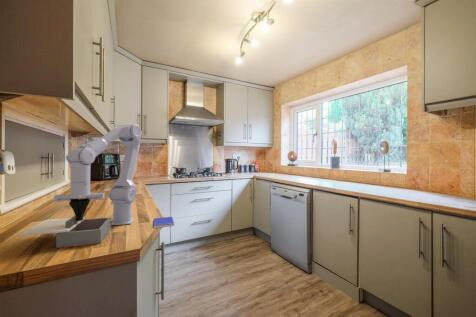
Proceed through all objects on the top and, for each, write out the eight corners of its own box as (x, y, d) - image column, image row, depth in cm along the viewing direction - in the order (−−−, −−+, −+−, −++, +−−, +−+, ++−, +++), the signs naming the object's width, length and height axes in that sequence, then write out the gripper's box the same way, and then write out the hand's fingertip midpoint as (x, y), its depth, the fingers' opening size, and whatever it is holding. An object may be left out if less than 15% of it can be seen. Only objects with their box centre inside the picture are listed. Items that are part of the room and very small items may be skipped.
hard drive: (174, 223, 90) (172, 216, 102) (153, 225, 87) (153, 218, 99) (174, 227, 90) (172, 219, 102) (153, 229, 87) (153, 221, 99)
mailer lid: (45, 221, 79) (45, 214, 79) (85, 218, 83) (85, 211, 83) (18, 236, 63) (18, 227, 63) (68, 231, 68) (68, 223, 68)
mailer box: (75, 231, 82) (75, 220, 82) (110, 228, 86) (111, 217, 86) (56, 248, 67) (56, 233, 67) (100, 243, 71) (100, 229, 71)
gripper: (49, 183, 69) (49, 225, 69) (101, 182, 75) (100, 221, 74) (59, 181, 76) (58, 219, 76) (106, 180, 81) (105, 216, 81)
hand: (79, 220), depth 76 cm, fingers closed
